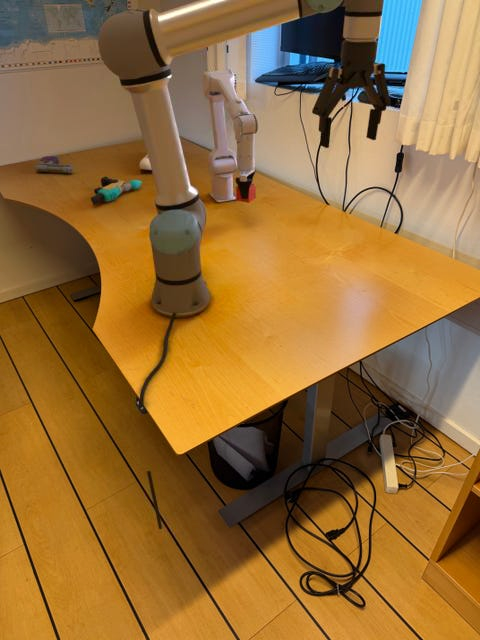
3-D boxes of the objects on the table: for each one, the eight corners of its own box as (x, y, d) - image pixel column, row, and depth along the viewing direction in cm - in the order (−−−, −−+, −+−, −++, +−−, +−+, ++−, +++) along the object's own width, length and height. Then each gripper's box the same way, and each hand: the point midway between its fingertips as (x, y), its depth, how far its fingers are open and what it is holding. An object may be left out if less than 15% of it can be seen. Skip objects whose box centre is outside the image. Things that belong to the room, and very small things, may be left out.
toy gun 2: (68, 191, 178) (99, 198, 173) (113, 171, 197) (142, 177, 191) (70, 203, 181) (101, 210, 175) (115, 182, 199) (143, 188, 194)
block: (248, 203, 160) (248, 189, 158) (236, 200, 162) (236, 186, 159) (255, 198, 164) (255, 184, 161) (243, 195, 166) (243, 182, 163)
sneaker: (133, 173, 208) (129, 144, 201) (161, 153, 230) (158, 127, 223) (155, 175, 205) (151, 146, 198) (180, 155, 227) (178, 129, 220)
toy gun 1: (85, 164, 218) (69, 176, 206) (48, 162, 221) (31, 173, 209) (84, 156, 216) (67, 167, 204) (46, 154, 219) (28, 164, 207)
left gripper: (394, 34, 108) (379, 132, 120) (300, 41, 99) (295, 145, 112) (418, 37, 102) (399, 139, 115) (320, 45, 94) (312, 154, 106)
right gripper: (236, 147, 160) (237, 186, 168) (230, 161, 149) (231, 202, 157) (257, 148, 160) (257, 187, 168) (252, 162, 148) (252, 203, 156)
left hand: (348, 142), depth 113 cm, fingers open, 13 cm apart
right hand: (245, 194), depth 162 cm, fingers closed on block, 6 cm apart
